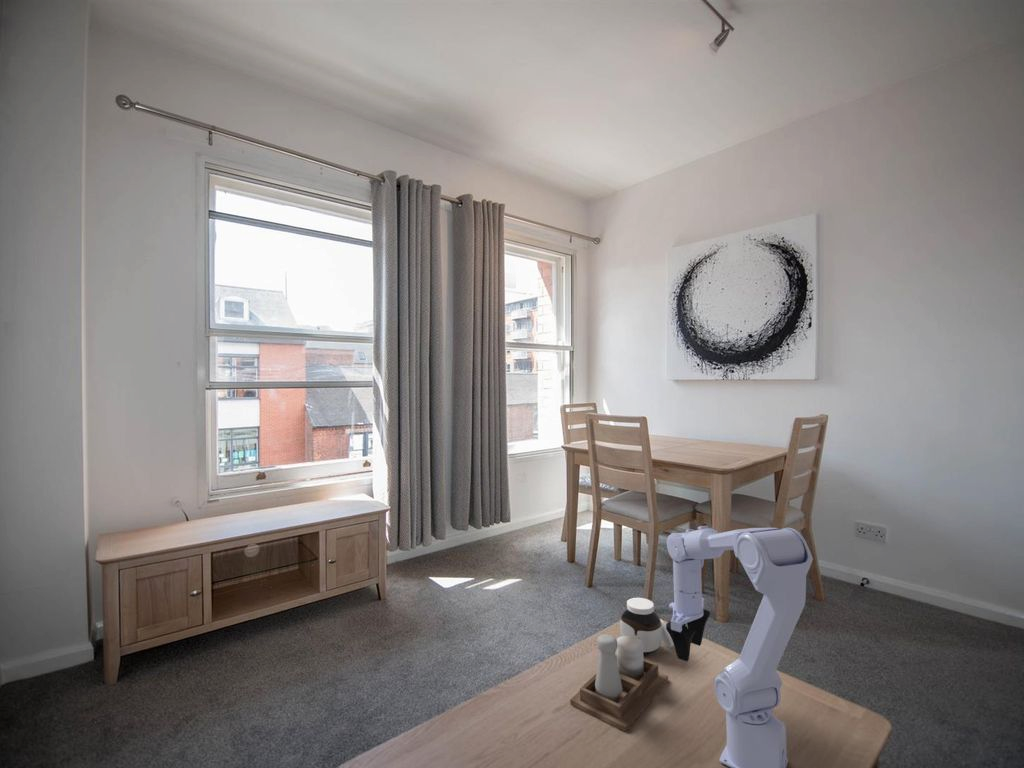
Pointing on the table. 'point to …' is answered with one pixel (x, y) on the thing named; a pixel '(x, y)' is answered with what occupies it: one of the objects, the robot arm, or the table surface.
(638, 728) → the table surface
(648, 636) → the spread jar
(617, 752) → the table surface
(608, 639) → the salt shaker
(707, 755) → the table surface
